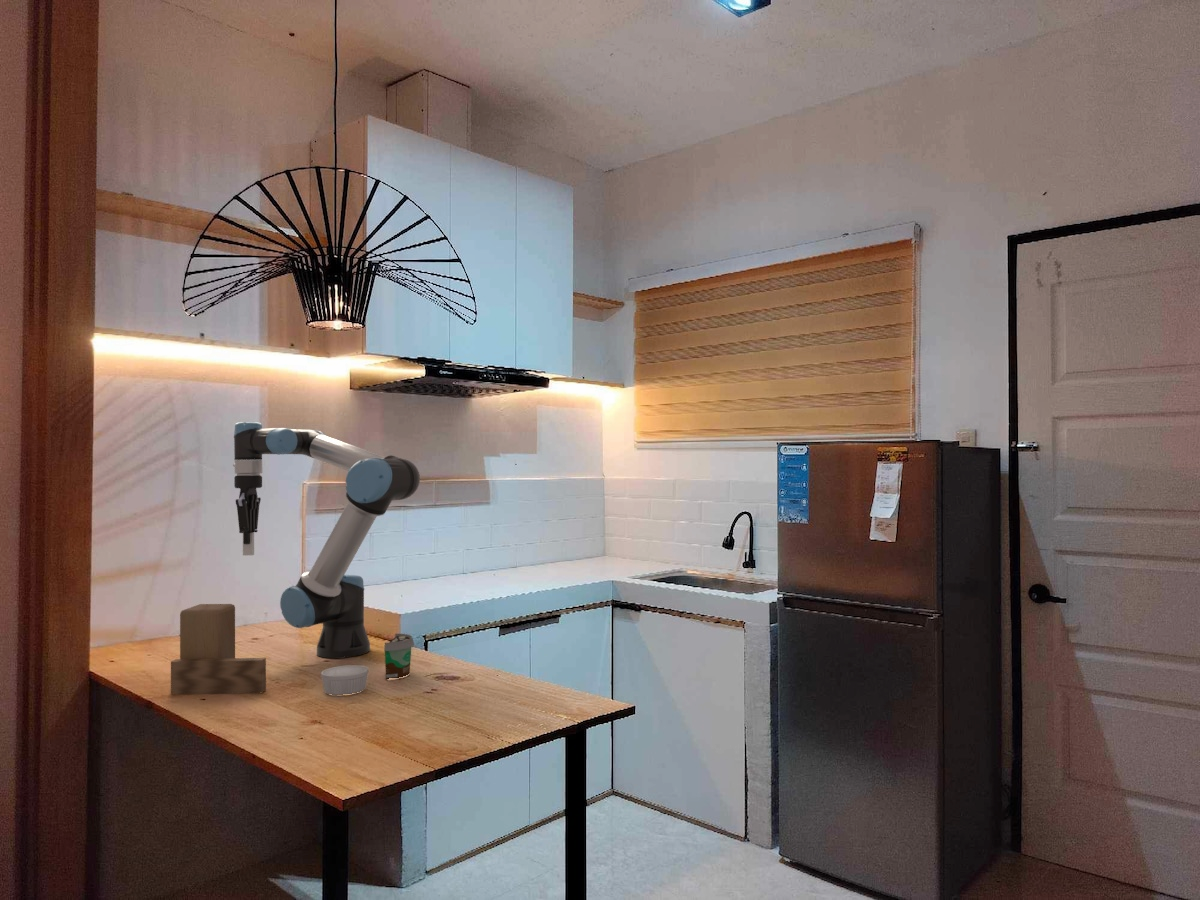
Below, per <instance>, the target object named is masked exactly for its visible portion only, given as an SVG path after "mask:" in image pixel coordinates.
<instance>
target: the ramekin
mask: <svg viewBox="0 0 1200 900" xmlns="http://www.w3.org/2000/svg"><path fill="white" fill-rule="evenodd" d="M369 674H370V669H369V667H367V666H365V665H361V664H360V665H359V664H353V665H352V664H351V665H350V664H348V665H346V664H345V665H338V666H332V667H329V668H326V669H324V670H322V671H320V678H321V679H322V685H323V690H324V692H325V694H326V693H327V694H332V695H343V694H352V693H357V692H360V691H362V690H363V691H365V689H366V687H367V681H368V675H369ZM327 694H326V695H327Z"/></svg>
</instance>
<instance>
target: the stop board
mask: <svg viewBox="0 0 1200 900" xmlns="http://www.w3.org/2000/svg"><path fill="white" fill-rule="evenodd" d="M265 690H267V657H244V658H243V657H241V658H240V657H237V658H236V657H235V658H226V659H180V658H177V659H174V660H172V661H170V695H171V694H178V695H218V694H219V695H220V694H221V695H222V694H223V695H224V694H225V695H226V694H227V695H228V694H229V695H230V694H231V695H232V694H237V695H238V693H239V694H261V693H260V692H263V691H264V692H266V691H265ZM264 692H263V693H264Z"/></svg>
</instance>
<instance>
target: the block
mask: <svg viewBox="0 0 1200 900" xmlns="http://www.w3.org/2000/svg"><path fill="white" fill-rule="evenodd" d="M179 652H180V653H179V659H226V658H236V607H235V605H234V604H232V603H200V604H197V605H194V606H191V607H187V608H186V609H183V610H181V611H180V614H179Z"/></svg>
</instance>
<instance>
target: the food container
mask: <svg viewBox="0 0 1200 900" xmlns="http://www.w3.org/2000/svg"><path fill="white" fill-rule="evenodd" d="M414 645H415V642H414V639H413V636H412V635H411V634H408V633H395V634H394V638H393V639H392V638H391V639H390V640H389V642H384V647H383V648H384V663H385V664H384V666H385V680H386V679H389V678H399V677H403V676H406V675H408V674H409V673H410V672H411V662H412V661H411V660H412V659H411V658H412V648H413V646H414Z"/></svg>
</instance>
